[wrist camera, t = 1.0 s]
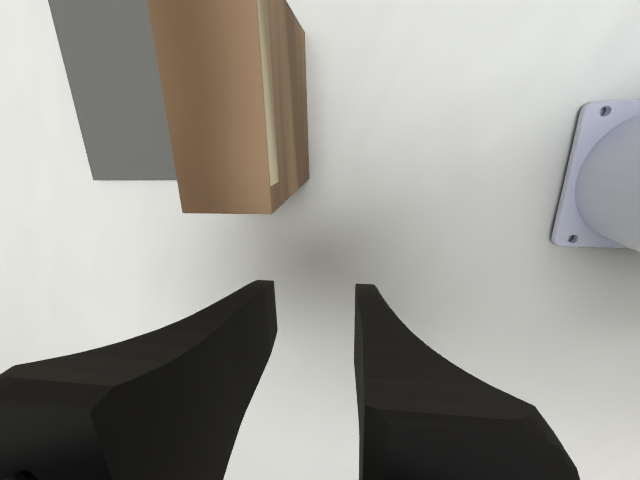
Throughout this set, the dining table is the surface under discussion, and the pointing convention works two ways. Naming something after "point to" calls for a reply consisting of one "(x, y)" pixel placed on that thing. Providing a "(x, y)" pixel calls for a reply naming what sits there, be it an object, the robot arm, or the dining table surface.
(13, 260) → the dining table surface
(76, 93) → the rubber mat
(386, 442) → the robot arm
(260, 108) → the walnut slab
